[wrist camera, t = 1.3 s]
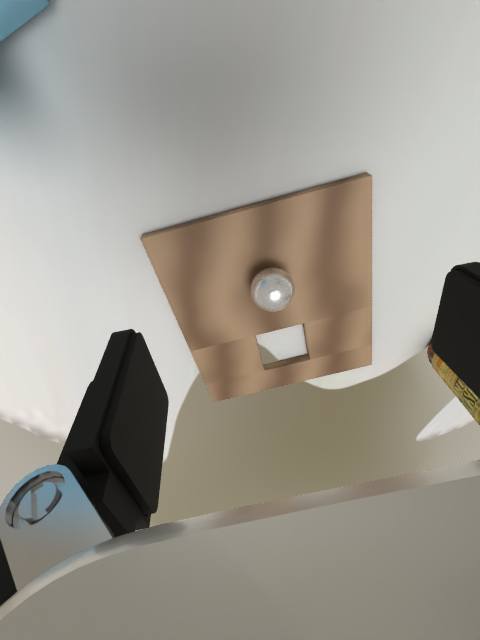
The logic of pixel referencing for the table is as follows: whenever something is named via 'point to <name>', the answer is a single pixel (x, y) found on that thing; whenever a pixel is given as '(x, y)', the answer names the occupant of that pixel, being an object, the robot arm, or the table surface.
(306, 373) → the walnut board
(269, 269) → the steel ball
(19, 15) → the teakettle
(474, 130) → the table surface
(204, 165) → the table surface
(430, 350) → the sauce bottle
